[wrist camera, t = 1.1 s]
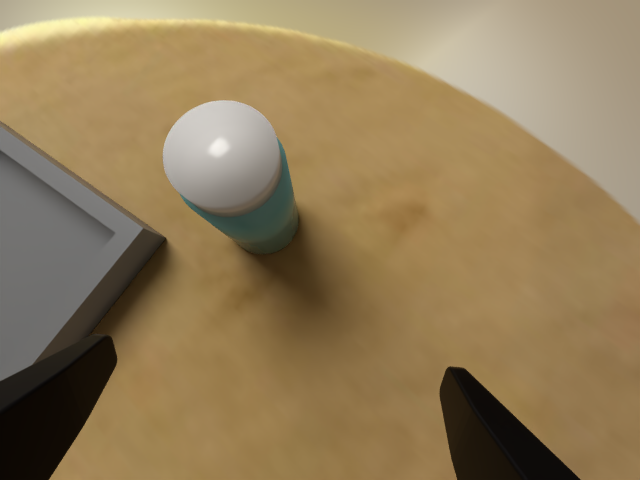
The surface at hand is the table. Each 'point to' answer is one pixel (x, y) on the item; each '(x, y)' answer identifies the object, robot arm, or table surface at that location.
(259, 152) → the ball
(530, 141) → the table surface
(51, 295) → the tray
